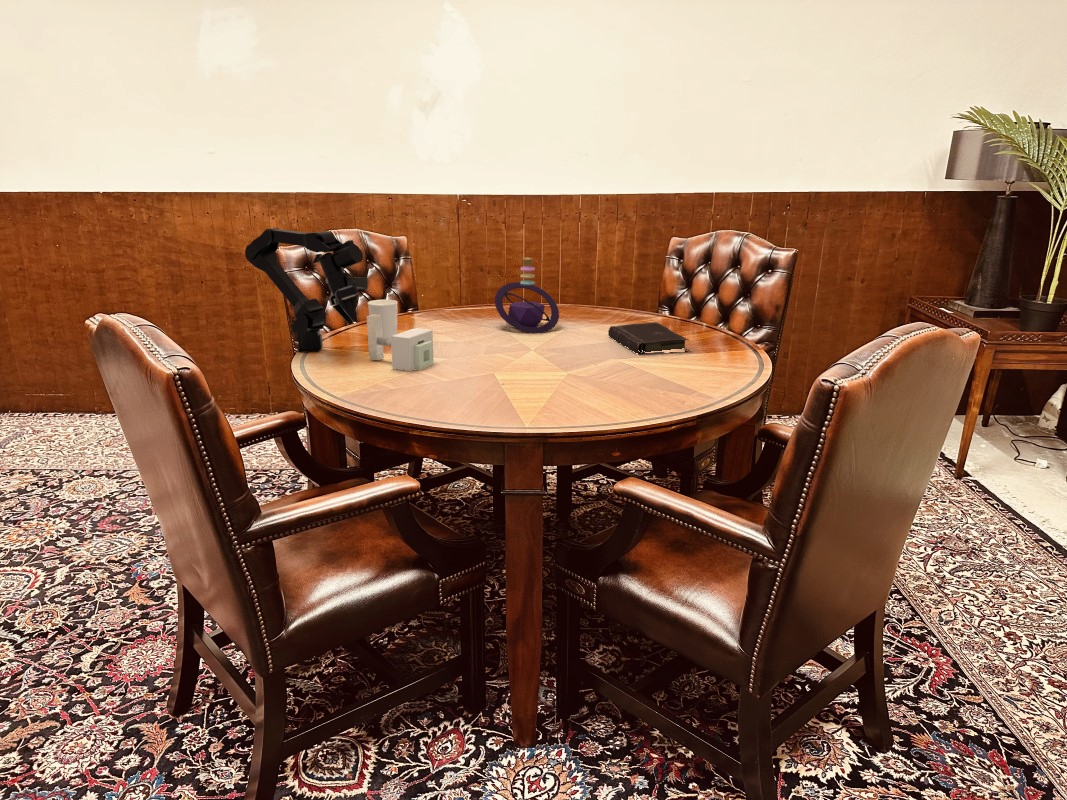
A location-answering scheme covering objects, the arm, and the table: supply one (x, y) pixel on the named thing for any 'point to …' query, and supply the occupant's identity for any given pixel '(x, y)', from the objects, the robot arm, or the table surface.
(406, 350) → the block
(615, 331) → the diary
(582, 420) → the table surface
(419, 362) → the spacer
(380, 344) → the grey piece
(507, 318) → the decorative bottle
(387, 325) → the candle holder
